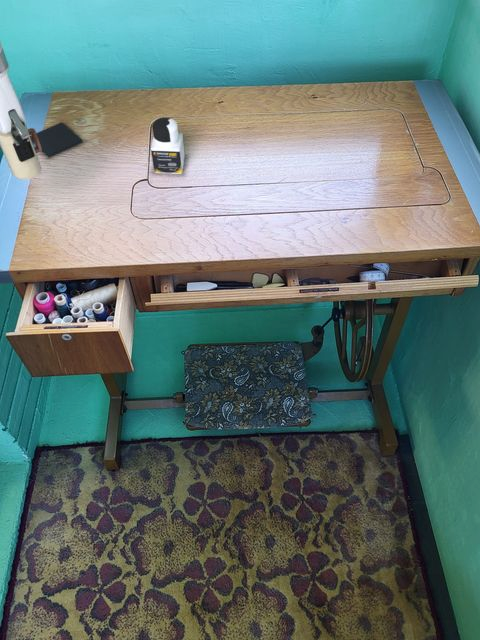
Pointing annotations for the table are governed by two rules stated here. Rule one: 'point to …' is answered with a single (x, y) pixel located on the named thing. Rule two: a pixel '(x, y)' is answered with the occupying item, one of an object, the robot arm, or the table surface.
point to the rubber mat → (57, 139)
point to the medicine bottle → (167, 147)
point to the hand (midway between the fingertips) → (18, 149)
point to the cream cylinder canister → (17, 168)
